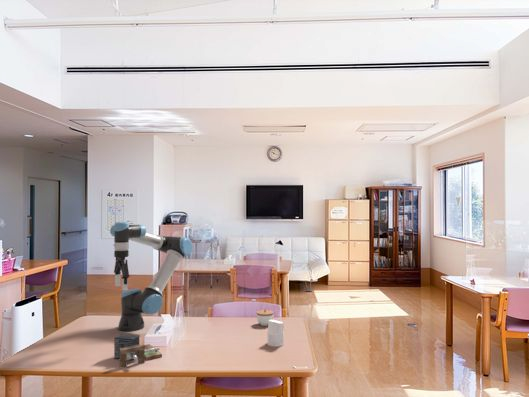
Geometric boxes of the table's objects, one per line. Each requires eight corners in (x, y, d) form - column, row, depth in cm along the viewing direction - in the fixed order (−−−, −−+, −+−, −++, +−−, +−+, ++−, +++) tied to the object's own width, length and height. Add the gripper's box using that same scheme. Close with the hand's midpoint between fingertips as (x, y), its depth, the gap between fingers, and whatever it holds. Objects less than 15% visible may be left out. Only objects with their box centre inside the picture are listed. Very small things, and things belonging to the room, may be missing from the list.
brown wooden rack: (158, 352, 210) (158, 340, 210) (166, 358, 201) (166, 346, 201) (119, 360, 199) (119, 347, 199) (126, 367, 190) (126, 354, 190)
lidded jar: (273, 327, 258) (273, 311, 258) (256, 326, 258) (256, 311, 258) (273, 322, 269) (273, 307, 269) (256, 321, 269) (256, 307, 269)
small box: (140, 356, 208) (140, 335, 209) (133, 361, 202) (133, 339, 202) (121, 354, 211) (121, 333, 211) (113, 359, 205) (113, 337, 205)
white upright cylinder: (287, 343, 227) (287, 321, 227) (276, 347, 221) (276, 324, 221) (275, 339, 233) (275, 318, 234) (264, 343, 227) (264, 321, 227)
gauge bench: (149, 346, 222) (149, 331, 222) (163, 358, 205) (163, 342, 205) (109, 354, 210) (109, 338, 210) (121, 367, 194) (121, 350, 194)
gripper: (108, 248, 242) (108, 285, 242) (121, 252, 221) (120, 292, 221) (121, 247, 246) (121, 283, 246) (135, 251, 226) (135, 291, 225)
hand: (121, 288), depth 233 cm, fingers open, 13 cm apart
